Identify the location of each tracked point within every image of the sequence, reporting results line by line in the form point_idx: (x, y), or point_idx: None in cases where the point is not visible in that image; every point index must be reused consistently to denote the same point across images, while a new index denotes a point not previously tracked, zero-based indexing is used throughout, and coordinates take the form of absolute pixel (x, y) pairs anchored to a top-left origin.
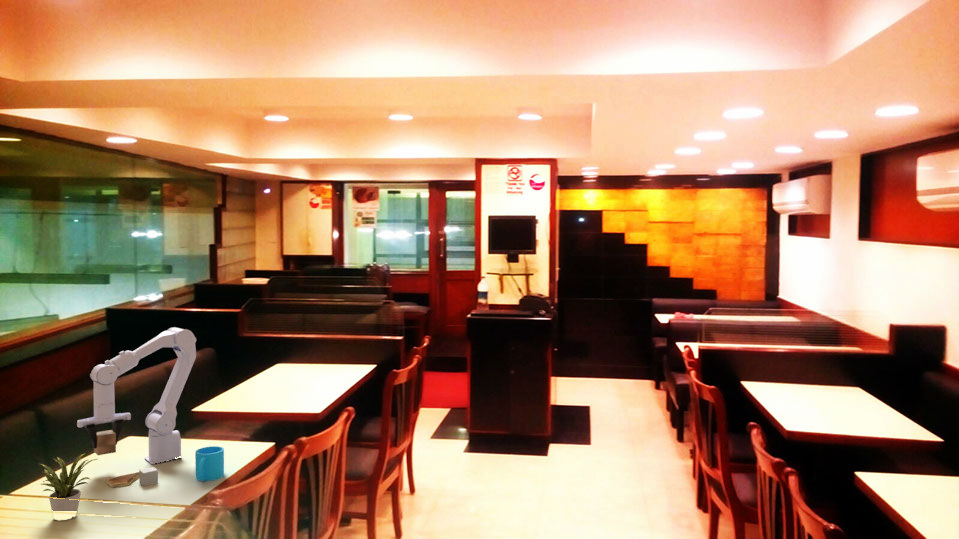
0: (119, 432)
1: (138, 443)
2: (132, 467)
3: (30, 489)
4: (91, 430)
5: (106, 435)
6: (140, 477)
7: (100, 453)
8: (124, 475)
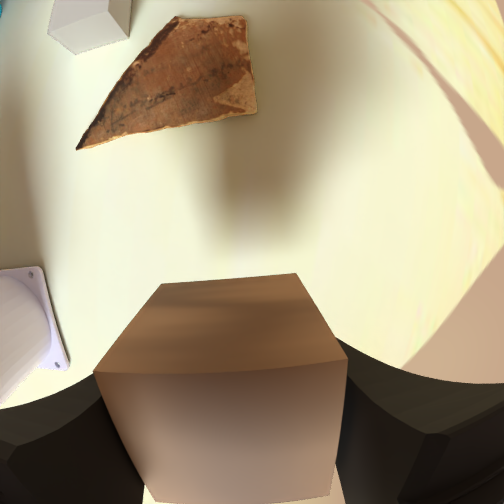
0: (62, 390)
1: None
2: (112, 286)
3: (489, 236)
4: (485, 393)
5: (221, 366)
6: (120, 14)
7: (277, 277)
8: (164, 114)
